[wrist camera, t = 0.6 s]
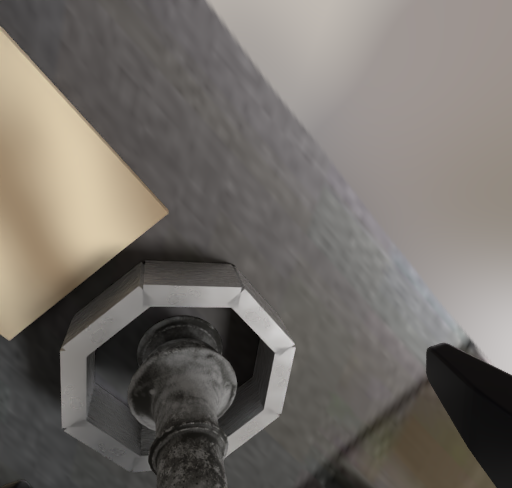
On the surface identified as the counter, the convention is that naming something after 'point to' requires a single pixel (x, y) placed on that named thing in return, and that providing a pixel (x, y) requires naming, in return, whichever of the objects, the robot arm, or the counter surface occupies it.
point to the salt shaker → (184, 401)
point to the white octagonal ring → (168, 295)
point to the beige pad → (56, 194)
